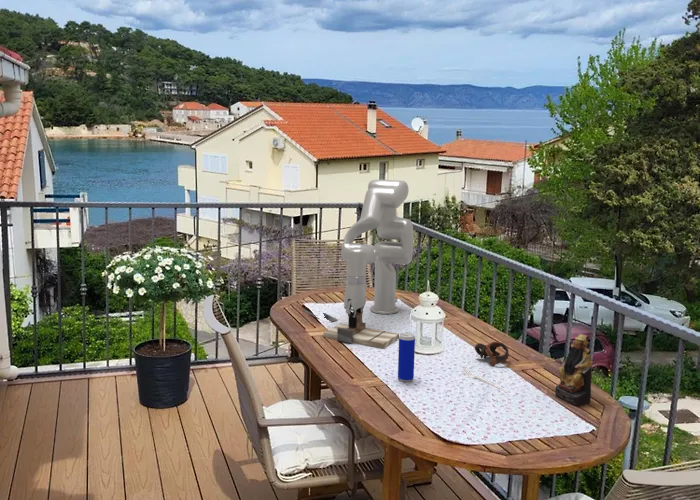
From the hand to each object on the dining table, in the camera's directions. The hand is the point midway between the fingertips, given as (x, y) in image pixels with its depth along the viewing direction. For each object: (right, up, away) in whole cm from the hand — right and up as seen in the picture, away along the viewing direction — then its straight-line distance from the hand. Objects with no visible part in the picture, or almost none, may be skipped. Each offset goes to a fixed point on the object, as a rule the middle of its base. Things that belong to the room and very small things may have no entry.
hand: (355, 324), depth 247 cm
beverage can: (+16, -13, -41) cm, 46 cm away
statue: (+66, -17, -56) cm, 88 cm away
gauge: (-1, -5, 0) cm, 5 cm away
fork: (+42, -14, -42) cm, 61 cm away
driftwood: (-15, 0, +29) cm, 32 cm away
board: (+2, -5, 0) cm, 6 cm away
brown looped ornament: (+48, -10, -23) cm, 54 cm away
